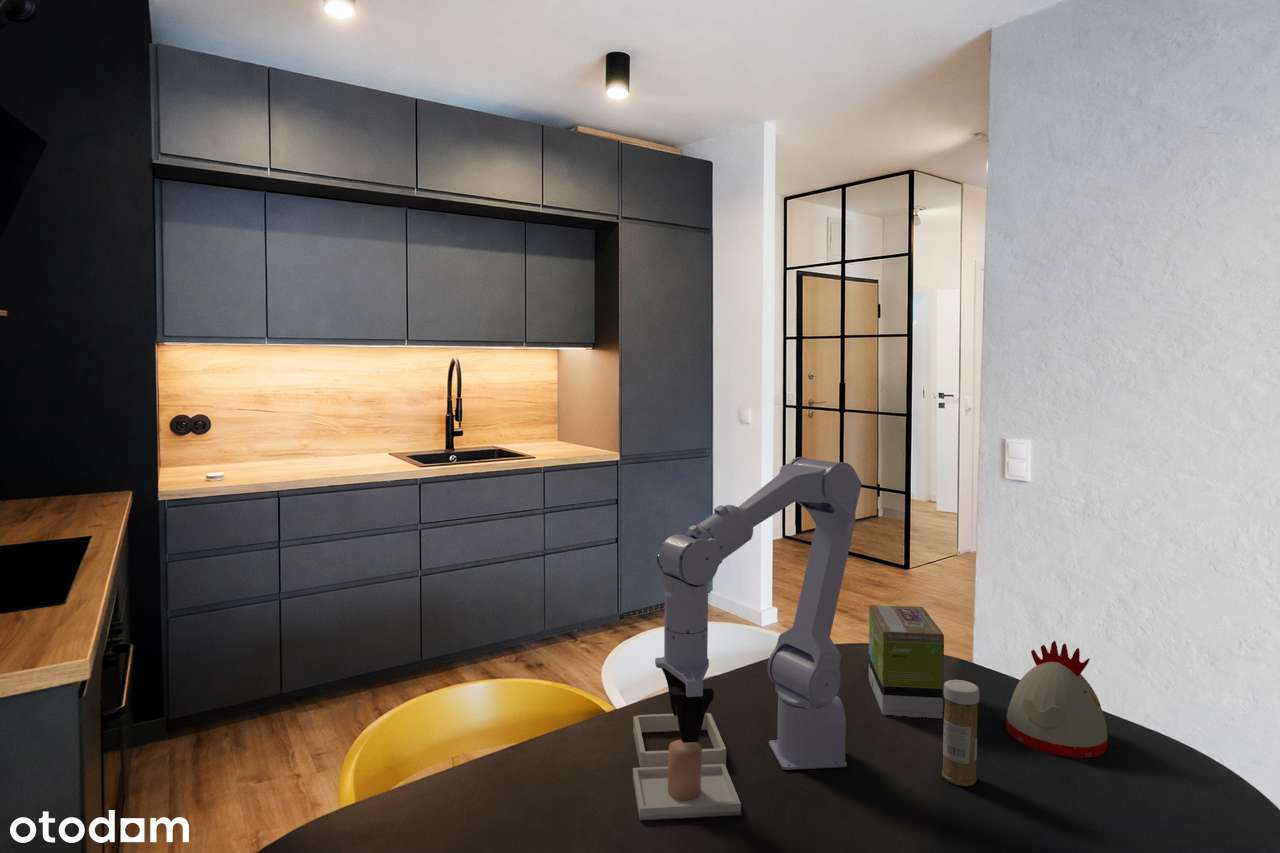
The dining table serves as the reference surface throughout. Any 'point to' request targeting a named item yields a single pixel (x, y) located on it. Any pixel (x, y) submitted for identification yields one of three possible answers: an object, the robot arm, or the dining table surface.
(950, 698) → the sprinkles bottle
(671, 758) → the terracotta cylinder
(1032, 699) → the kitchen timer
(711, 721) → the grey square frame
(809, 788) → the dining table surface
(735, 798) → the tray
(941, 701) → the tea box
